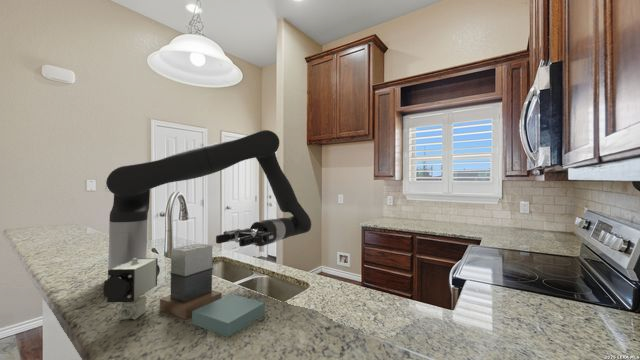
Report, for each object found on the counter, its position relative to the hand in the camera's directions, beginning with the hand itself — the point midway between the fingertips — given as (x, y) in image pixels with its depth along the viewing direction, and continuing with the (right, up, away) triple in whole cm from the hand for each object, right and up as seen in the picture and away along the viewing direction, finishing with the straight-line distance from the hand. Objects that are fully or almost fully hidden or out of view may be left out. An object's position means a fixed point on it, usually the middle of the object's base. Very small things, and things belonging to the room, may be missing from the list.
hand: (228, 241), depth 71 cm
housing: (-5, -10, -9) cm, 15 cm away
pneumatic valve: (-16, -13, -14) cm, 25 cm away
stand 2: (+5, -13, -15) cm, 20 cm away
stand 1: (-5, -13, -9) cm, 17 cm away
